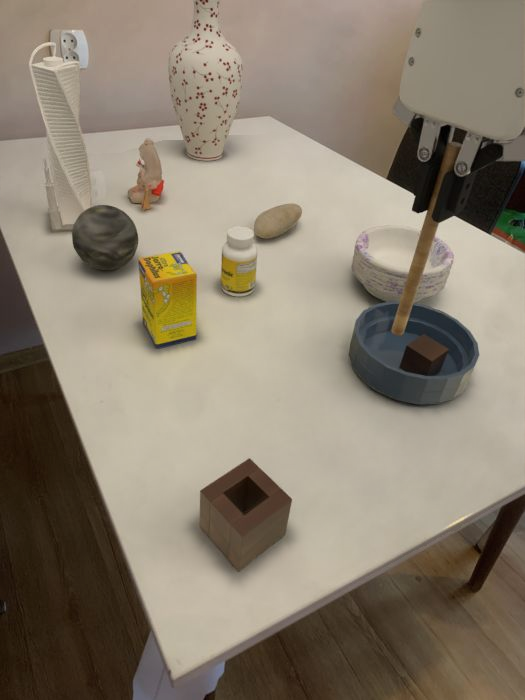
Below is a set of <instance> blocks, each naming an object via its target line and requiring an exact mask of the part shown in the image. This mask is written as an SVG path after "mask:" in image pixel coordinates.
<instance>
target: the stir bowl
mask: <svg viewBox="0 0 525 700" xmlns="http://www.w3.org/2000/svg"><path fill="white" fill-rule="evenodd" d="M399 303H400V302H397V301H389V302H386V301H383V302H380V303H376V304H375V303H374V304H373V305H371V306H369V307H368V308H365V309H364V310H362V311H361V313H360V314H359V316H358V317H357V318H356V319H355V323H354V326H353V331H352V335H351V339H350V343H349V348H348V349H349V350H348V359H349V362H350V365H351V367H352V369H353V371H355V373H356V374H357V375H358V377H359V378H360V379H361V381H363V382H364V383H365V384H367V385H368V386H369V387H371V388H372V389H374V390H375V392H377V393H379V394H382V395H383V396H387V397H389V398H391V399H393V400H396V401H399V402H404V403H410V404H415V405H438V404H439V405H440V404H442V403H446V402H448V401H452V400H454V399H455V398H457V397H458V396H459V395H461V394H462V393H463V392H464V391H465V389H466V387H467V385H468V383H469V380H470V378H471V376H472V373H473V371H474V369H475V367H476V364H477V362H478V360H479V357H480V351H479V349H480V348H479V344H478V341H477V340H476V338H475V336H474V335H473V334H472V332H471V331H470V329H468V327H466V326H465V325H464V324H463V323H462V322H461V321H460V320H458V319H457V318H455V317H453V316H451V315H450V314H448V313H446V312H445V311H442V310H439V309H437V308H434V307H432V306H429V305H426V304H422V303H418V302H415V303H413V306H412V309H411V312H410V315H409V318H408V321H407V324H406V328H405V331H404V334H403V335H395V334H393V333H392V331H391V330H392V326H393V323H394V320H395V316H396V313H397V310H398V306H399ZM423 334H425V335H427V336H428V337H430V338H432V339H433V340H435V341H436V342H438V343H440V344H441V345H443V346H445V347H446V348H448V349H449V351H448V353H447V356H446V358H445V361H444V363H443V366H442V368H441V371H440V372H439V373H437V374H436V375H435V376H424V375H419V374H414V373H409V372H405V371H404V370H402V369H401V368H399V367H400V364H401V361H402V358H403V355H404V352H405V349H406V346H407V345H408V344H409V343H411V342H412V341H414V340H415V339H417V338H418V337H420V336H422V335H423Z"/></svg>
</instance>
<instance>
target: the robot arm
mask: <svg viewBox="0 0 525 700" xmlns="http://www.w3.org/2000/svg"><path fill="white" fill-rule="evenodd" d="M404 60H405V61H404V64H403V67H402V73H401V78H400V83H399V96H398V97H397V99H396V102H394V105H393V107H392V113H393V116H394V117H395V118H397V119H398V120H399V121H400V122H401V123H402V124H404V125H405V126H406V127H407V128H409V129H410V132H411V134H412V136H413V139H414V141H415V143H416V145H417V152H416V153H417V155H416V157H417V158H418V161H420V162H421V163H420V167H419V170H418V174H417V178H416V181H415V185H414V189H413V196H414V200H413V203H412V206H411V212H413V213H416V214H422V213H424V212H427V210H428V207H429V203H430V200H431V197H432V193H433V190H434V187H435V183H436V180H437V177H438V173H439V170H440V167H441V163H442V160H443V157H444V154H445V150H446V147H447V144H448V143H449V142H453V138H454V134H455V130H456V128H457V129H460V130H463V131H465V132H466V134H465V136H464V139H463V142H462V143H461V144H462V147H461V150H460V152H459V155H458V157H457V160H456V162H455V164H454V167H453V170H452V171H449V172H447V173H445V175H444V177H443V180H442V184H441V187H440V190H439V193H438V197H437V200H436V203H435V206H434V210H433V213H432V216H431V218H433V221H435V222H437V223H439V224H440V223H442V222H444V221H446V220H448V219H451V218H452V217H455V216H457V215H458V214H460V213H461V212H462V211H463V210H464V208H465V207H466V205H467V202H468V199H469V196H470V194H471V191H472V189H473V188H472V187H473V184H474V182H475V179H476V176H477V173H478V171H480V170H483V169H484V168H486V167H488V166H490V165H492V164H494V163H496V162H525V0H423V1H422V3H421V6H420V10H419V12H418V17H417V19H416V23H415V25H414V28H413V32H412V35H411V39H410V42H409V46H408V49H407V54H406V57H405V59H404Z"/></svg>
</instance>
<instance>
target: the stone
mask: <svg viewBox="0 0 525 700" xmlns="http://www.w3.org/2000/svg"><path fill="white" fill-rule="evenodd" d="M302 214H303V209H302V207H301V205H300V204H297V203H284V204H280V205H277V206H273V207H271V208H269V209H266V210H265V211H263V212H262V213H260V214H258V216H257V217H256V219H255V221H254V224H253V232H254V234H255V235H256V236H257V237H259V238H262V239H273V238H276V237H279V236H281V235H283V234H285V233H287V232H288V231H289V230H290V229H291V228H293V227H294V226H295V225H296V224H297V223H298V222H299V220H300V219H301V217H302Z"/></svg>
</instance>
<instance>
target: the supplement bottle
mask: <svg viewBox="0 0 525 700" xmlns="http://www.w3.org/2000/svg"><path fill="white" fill-rule="evenodd" d="M254 241H255V231H254V230H252V229H251V228H249V227H246V226H243V225H242V226H239V225H237V226H232V227H230V228H229V229H228V230H227V232H226V242H225V243H224V244H223V245H222V246H221V247H222V248H221V264H220V265H221V267H220V269H221V270H220V287H221V290H222V291H223V292H224V293H225V294H227V295H229V296H231V297H245V296H248V295H250V294H252V293H253V292H254V291H255V288H256V278H257V277H256V276H257V262H258V247H257V246H256V244H255V243H254Z"/></svg>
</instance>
